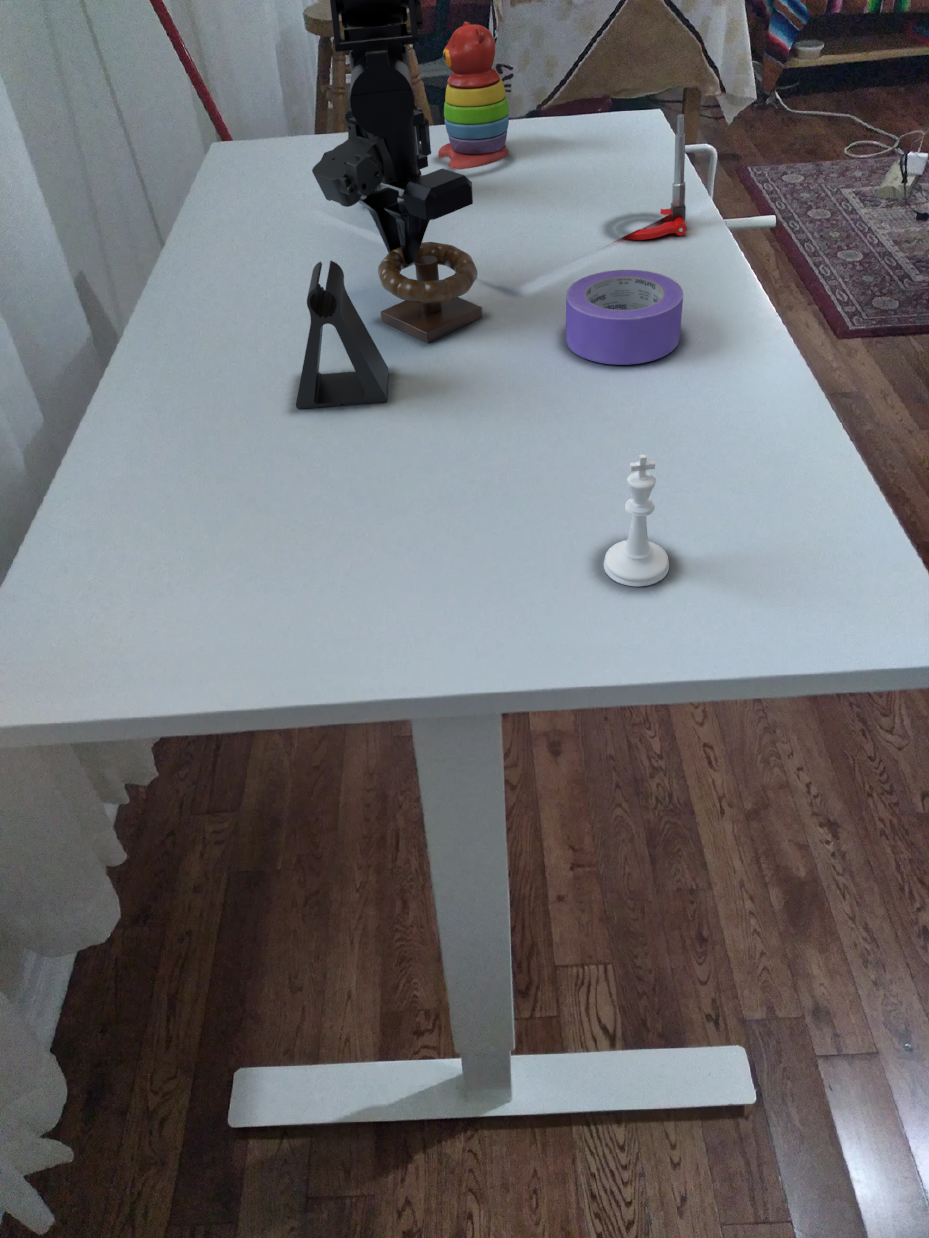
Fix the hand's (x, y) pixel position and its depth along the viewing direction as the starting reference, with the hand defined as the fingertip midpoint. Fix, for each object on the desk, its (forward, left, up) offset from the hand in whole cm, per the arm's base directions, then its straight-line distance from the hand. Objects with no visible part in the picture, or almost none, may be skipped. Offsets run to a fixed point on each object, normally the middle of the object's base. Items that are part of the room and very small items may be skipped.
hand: (402, 260), depth 106 cm
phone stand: (+9, -16, -6) cm, 19 cm away
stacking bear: (-30, +38, -6) cm, 49 cm away
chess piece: (+48, -17, -6) cm, 51 cm away
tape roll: (+23, +10, -6) cm, 26 cm away
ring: (+4, 0, 0) cm, 4 cm away
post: (+4, 0, -6) cm, 7 cm away
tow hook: (+6, +34, -6) cm, 35 cm away
